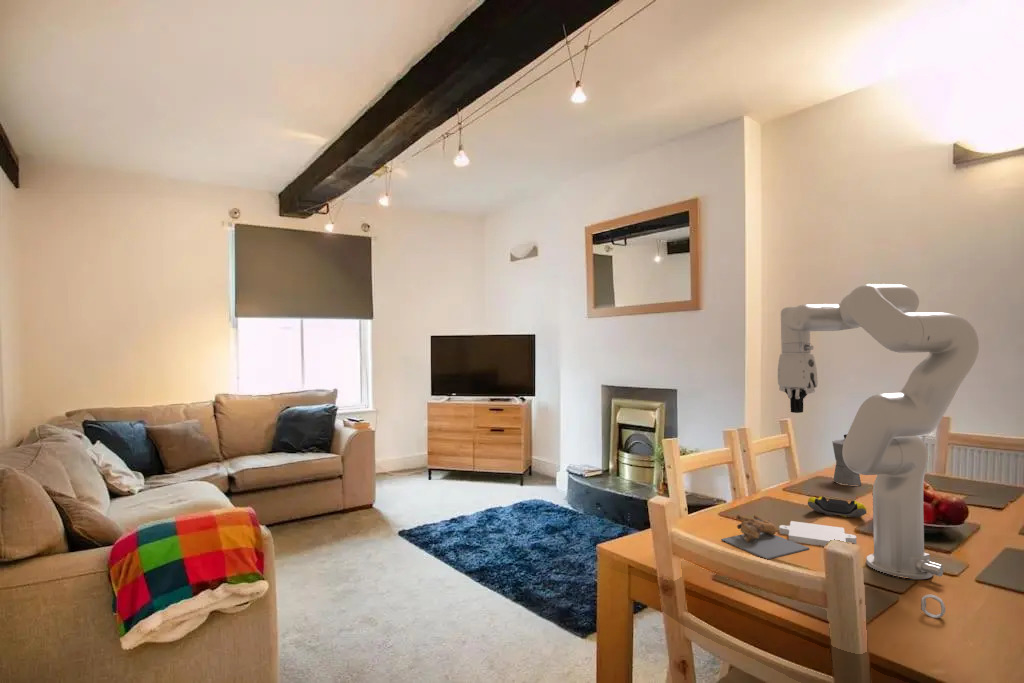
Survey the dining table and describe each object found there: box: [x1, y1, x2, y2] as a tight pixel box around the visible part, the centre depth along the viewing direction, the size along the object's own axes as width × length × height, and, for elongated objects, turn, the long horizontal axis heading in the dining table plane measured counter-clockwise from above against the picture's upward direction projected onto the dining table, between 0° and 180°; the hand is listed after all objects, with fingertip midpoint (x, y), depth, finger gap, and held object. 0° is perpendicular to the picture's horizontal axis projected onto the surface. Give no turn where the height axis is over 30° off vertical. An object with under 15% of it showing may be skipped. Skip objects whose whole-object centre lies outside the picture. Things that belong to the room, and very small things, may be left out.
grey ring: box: [920, 593, 946, 619], centre depth 103 cm, size 4×2×4 cm, turn 47°
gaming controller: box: [807, 496, 867, 518], centre depth 164 cm, size 15×6×10 cm
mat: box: [720, 532, 810, 560], centre depth 141 cm, size 14×15×1 cm
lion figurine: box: [736, 514, 778, 542], centre depth 146 cm, size 15×5×9 cm
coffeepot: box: [831, 433, 862, 486], centre depth 198 cm, size 15×9×18 cm, turn 175°
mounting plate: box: [778, 520, 857, 547], centre depth 146 cm, size 18×13×2 cm
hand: (796, 412), depth 158 cm, fingers closed
